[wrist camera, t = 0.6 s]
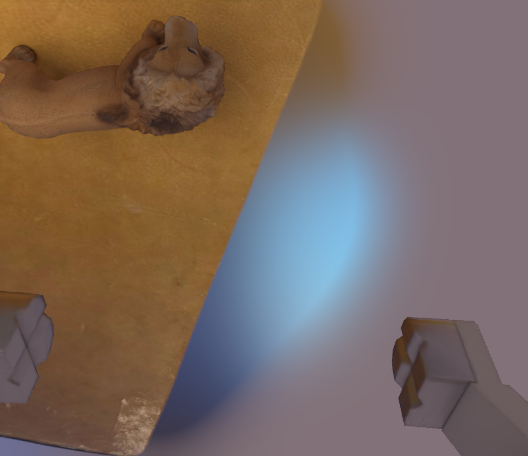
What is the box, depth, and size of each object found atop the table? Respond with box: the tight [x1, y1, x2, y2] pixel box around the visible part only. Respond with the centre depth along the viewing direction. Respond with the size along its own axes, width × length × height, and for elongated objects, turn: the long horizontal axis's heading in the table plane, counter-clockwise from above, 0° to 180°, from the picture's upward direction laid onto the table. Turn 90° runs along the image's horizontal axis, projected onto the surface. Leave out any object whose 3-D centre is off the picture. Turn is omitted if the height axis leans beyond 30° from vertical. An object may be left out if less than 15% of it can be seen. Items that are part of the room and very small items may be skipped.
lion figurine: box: [0, 16, 226, 138], centre depth 25 cm, size 15×5×9 cm, turn 108°
